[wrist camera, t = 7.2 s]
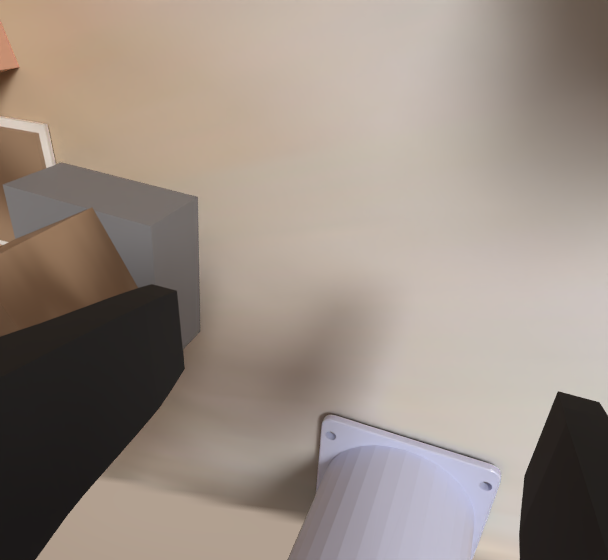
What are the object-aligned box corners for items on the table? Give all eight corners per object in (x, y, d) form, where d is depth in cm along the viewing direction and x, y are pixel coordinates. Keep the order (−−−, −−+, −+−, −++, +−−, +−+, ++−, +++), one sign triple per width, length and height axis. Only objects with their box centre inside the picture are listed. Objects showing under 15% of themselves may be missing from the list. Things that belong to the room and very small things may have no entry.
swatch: (76, 261, 26) (70, 265, 25) (-26, 235, 28) (-32, 237, 27) (47, 123, 22) (40, 126, 22) (-66, 104, 24) (-74, 106, 24)
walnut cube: (155, 319, 21) (65, 399, 17) (78, 336, 23) (-17, 410, 19) (92, 207, 19) (-25, 265, 15) (15, 238, 22) (-103, 296, 18)
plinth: (203, 327, 25) (161, 371, 22) (87, 289, 27) (35, 324, 24) (201, 194, 22) (151, 226, 19) (67, 160, 23) (2, 184, 21)
